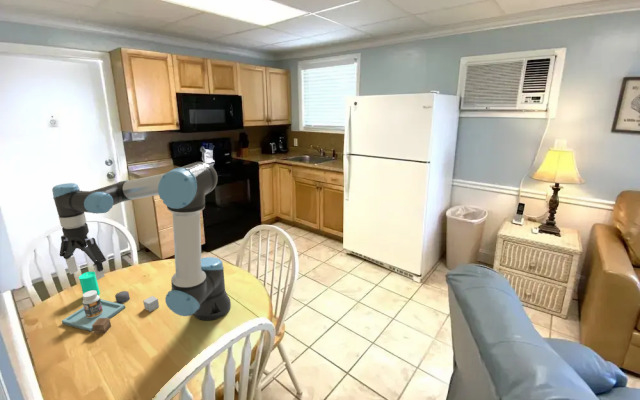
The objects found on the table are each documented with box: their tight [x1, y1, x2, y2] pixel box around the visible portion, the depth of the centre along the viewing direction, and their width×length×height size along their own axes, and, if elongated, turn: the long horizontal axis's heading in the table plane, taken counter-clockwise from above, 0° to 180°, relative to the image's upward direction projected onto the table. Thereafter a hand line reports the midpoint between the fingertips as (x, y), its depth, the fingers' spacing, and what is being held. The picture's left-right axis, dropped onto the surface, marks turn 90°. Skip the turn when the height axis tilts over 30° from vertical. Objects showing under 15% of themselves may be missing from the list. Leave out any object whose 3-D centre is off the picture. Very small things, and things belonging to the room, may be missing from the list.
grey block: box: [143, 295, 160, 313], centre depth 132 cm, size 4×4×4 cm
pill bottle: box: [82, 290, 103, 318], centre depth 125 cm, size 6×6×10 cm
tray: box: [61, 298, 126, 332], centre depth 127 cm, size 15×15×2 cm
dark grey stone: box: [114, 290, 131, 304], centre depth 137 cm, size 5×5×3 cm
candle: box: [78, 271, 101, 297], centre depth 138 cm, size 6×6×12 cm
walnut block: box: [92, 318, 112, 335], centre depth 119 cm, size 4×4×4 cm
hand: (87, 275), depth 122 cm, fingers open, 13 cm apart
